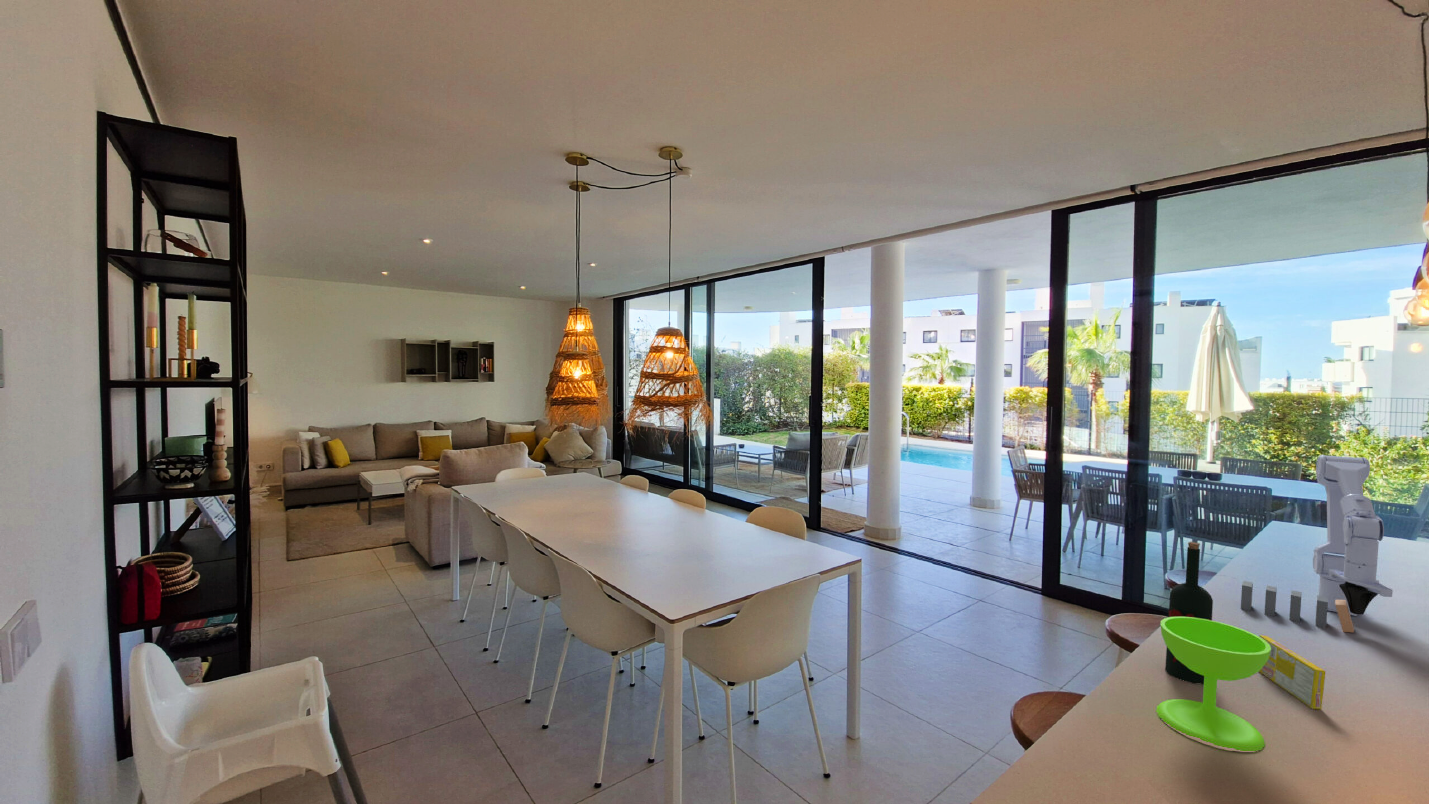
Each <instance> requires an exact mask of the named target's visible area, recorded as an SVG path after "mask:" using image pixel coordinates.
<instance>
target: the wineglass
mask: <svg viewBox="0 0 1429 804" xmlns="http://www.w3.org/2000/svg"><path fill="white" fill-rule="evenodd" d="M1160 631H1161V636H1162V639H1163V641H1164V644H1165V646H1166V648H1167V647H1168V649H1169V650H1170V651H1171V652H1172V654H1173V655H1174V656H1175V658H1176V659H1177V660H1179V661H1180V662H1181V663H1182V664H1184V665H1185V666H1186V667H1188V668H1189V669H1190V670H1192V671H1194V672H1196V673H1198V674H1201V675H1203V676H1204V684H1203V693H1202V694H1203V695H1202V701H1197V700H1192V699H1182V698H1177V699H1175V698H1172V699H1167V700H1163V701H1162V702H1160V703H1159V704H1158V705H1157V706H1156V708H1157V710H1156V709H1155V710H1156V711H1155V713H1156V712H1157V713H1158V715H1157V717H1158V716H1159V717H1160V718H1161V719H1163V721H1164V722H1166V723H1167V724H1169V725H1170V726H1171V727H1173V728H1175V729H1176V730H1178V731H1181V732H1182V733H1185V734H1186V735H1189V736H1193V737H1197V738H1200V739H1201V740H1203V741H1206V742H1210V743H1213V744H1214V745H1217V746H1222V747H1227V748H1234V749H1236V750H1241V751H1257V750H1260V751H1262V750H1263V749H1264V748H1265V746H1266V744H1265V738H1264V736H1263V735H1262V734H1261V732H1260V731H1259V730H1258V729H1257V728H1256V727H1255V726H1253V724H1251V723H1250V722H1249V721H1247V720H1245V719H1243V717H1241V716H1238V715H1237V714H1236V713H1235V714H1234V713H1233V712H1230V711H1228V710H1226V709H1224V708H1221V707H1218V706H1217V689H1218V680H1219V681H1227V682H1228V681H1230V682H1231V681H1238V680H1243V679H1244V680H1245V679H1247V678H1250V677H1252V676H1254V675H1255V674H1257V673H1260V672H1259V671H1260V670H1261V669H1262V667H1263V666H1264V665H1265V663H1266V662H1267V661H1268V659H1269V655H1270V652H1271V647H1270V645H1269V644H1268V643H1267V642H1266V641H1265V640H1264V639H1262V638H1260V637H1259V635H1257V634H1255V633H1252V632H1250V631H1247V630H1245V629H1242V628H1240V627H1236V626H1234V625H1231V624H1227V623H1224V622H1220V621H1216V620H1213V619H1212V620H1207V619H1201V618H1194V617H1181V616H1180V617H1169V616H1167V617H1165V618H1163V619H1161V620H1160ZM1159 717H1158V718H1159ZM1263 747H1264V748H1263ZM1262 748H1263V749H1262ZM1257 752H1258V751H1257Z"/></svg>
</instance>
